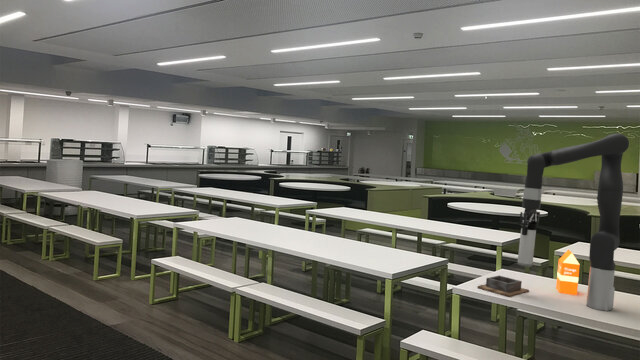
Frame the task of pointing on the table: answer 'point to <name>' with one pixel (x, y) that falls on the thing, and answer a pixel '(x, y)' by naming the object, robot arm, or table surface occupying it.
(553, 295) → the table surface
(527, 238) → the travel mug
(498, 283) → the grey tray on board
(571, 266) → the orange juice
